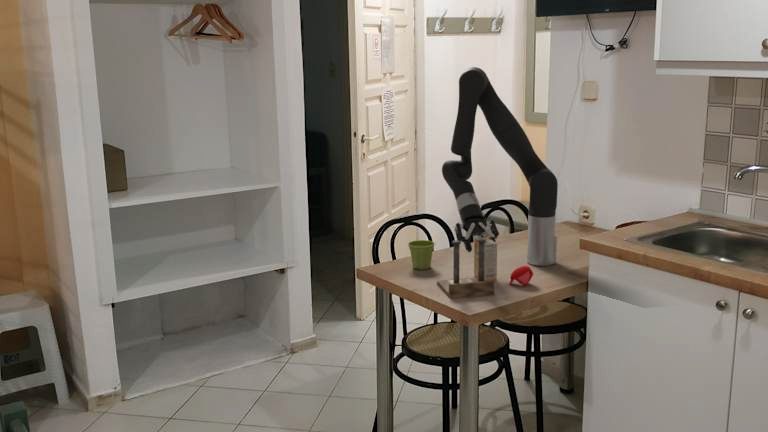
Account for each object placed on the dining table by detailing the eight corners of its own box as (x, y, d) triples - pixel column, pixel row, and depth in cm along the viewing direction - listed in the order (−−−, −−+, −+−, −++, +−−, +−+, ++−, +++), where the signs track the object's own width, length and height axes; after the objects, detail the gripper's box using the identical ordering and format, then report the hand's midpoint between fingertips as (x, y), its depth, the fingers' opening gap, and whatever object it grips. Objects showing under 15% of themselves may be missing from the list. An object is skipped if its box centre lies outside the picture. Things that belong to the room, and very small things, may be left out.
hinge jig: (478, 280, 246) (478, 230, 243) (494, 294, 232) (494, 241, 228) (436, 284, 244) (436, 233, 240) (450, 298, 229) (450, 245, 226)
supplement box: (473, 275, 252) (473, 237, 249) (486, 274, 253) (486, 236, 251) (483, 282, 244) (484, 243, 241) (497, 281, 246) (497, 242, 243)
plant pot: (410, 272, 257) (410, 247, 256) (405, 264, 267) (405, 240, 265) (437, 270, 259) (437, 245, 257) (431, 263, 268) (431, 239, 266)
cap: (533, 271, 245) (517, 261, 245) (537, 270, 239) (521, 260, 239) (521, 292, 244) (505, 282, 244) (524, 292, 238) (507, 281, 238)
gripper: (452, 204, 252) (465, 245, 244) (492, 201, 256) (505, 242, 248) (446, 216, 258) (459, 257, 250) (485, 213, 262) (498, 253, 254)
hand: (482, 249), depth 249 cm, fingers open, 8 cm apart
